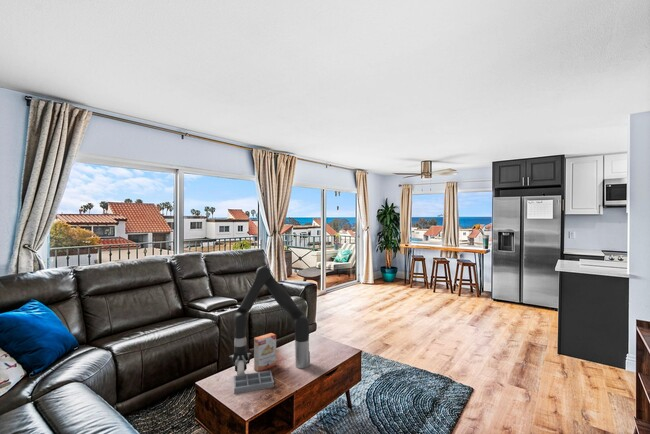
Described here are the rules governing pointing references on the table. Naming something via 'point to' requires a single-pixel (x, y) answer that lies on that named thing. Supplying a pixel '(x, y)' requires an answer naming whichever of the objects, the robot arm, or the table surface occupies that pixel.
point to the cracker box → (264, 352)
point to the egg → (240, 368)
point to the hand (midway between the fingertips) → (240, 370)
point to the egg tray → (253, 381)
